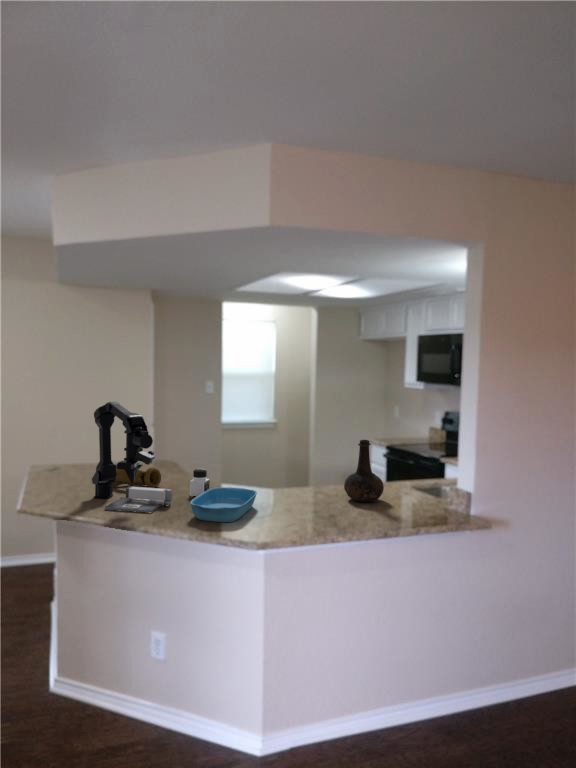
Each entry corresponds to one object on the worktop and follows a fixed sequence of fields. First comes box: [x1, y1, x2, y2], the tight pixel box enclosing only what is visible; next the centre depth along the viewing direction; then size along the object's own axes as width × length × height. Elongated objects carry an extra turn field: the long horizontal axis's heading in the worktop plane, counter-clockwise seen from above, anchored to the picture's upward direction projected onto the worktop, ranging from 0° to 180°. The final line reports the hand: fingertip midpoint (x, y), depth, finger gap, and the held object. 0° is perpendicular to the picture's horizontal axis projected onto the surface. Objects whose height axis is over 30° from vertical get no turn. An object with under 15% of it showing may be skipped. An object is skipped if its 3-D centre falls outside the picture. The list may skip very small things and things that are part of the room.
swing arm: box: [125, 485, 173, 501], centre depth 236 cm, size 20×4×4 cm, turn 82°
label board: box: [104, 497, 172, 513], centre depth 232 cm, size 24×16×2 cm
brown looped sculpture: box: [112, 466, 162, 488], centre depth 267 cm, size 18×13×22 cm
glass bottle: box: [343, 439, 385, 503], centre depth 255 cm, size 18×18×28 cm
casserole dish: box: [189, 486, 258, 523], centre depth 228 cm, size 37×22×7 cm, turn 168°
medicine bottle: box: [189, 468, 210, 497], centre depth 254 cm, size 7×7×12 cm
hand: (132, 482), depth 228 cm, fingers closed
